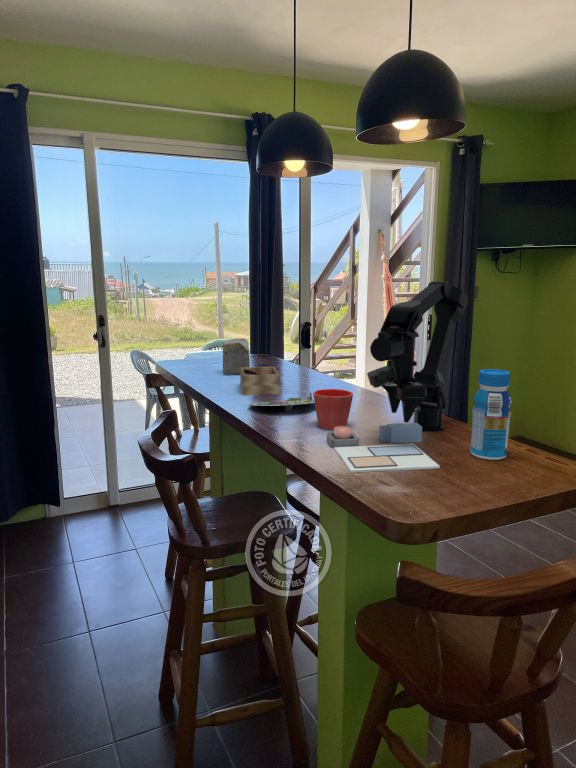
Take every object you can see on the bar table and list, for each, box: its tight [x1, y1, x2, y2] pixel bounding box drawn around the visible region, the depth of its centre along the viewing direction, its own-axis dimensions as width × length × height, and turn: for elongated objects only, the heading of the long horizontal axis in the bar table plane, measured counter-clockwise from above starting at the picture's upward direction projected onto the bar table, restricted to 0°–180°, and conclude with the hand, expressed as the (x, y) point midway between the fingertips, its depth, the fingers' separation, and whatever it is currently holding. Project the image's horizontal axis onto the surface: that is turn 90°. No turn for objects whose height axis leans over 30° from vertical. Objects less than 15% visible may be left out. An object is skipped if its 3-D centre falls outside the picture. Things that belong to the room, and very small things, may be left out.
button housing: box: [326, 431, 360, 449], centre depth 135 cm, size 7×7×2 cm
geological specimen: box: [222, 337, 251, 376], centre depth 228 cm, size 11×6×15 cm, turn 105°
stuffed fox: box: [244, 369, 262, 375], centre depth 198 cm, size 8×11×12 cm
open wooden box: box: [239, 366, 281, 396], centre depth 198 cm, size 13×17×7 cm
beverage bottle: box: [469, 368, 513, 461], centre depth 125 cm, size 8×8×20 cm
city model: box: [248, 392, 315, 413], centre depth 173 cm, size 25×23×6 cm
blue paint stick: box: [378, 422, 423, 444], centre depth 138 cm, size 10×4×4 cm, turn 97°
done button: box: [333, 425, 353, 439], centre depth 135 cm, size 4×4×3 cm
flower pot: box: [313, 388, 354, 431], centre depth 150 cm, size 11×11×10 cm
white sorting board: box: [333, 443, 441, 474], centre depth 125 cm, size 20×16×1 cm
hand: (399, 417), depth 137 cm, fingers open, 9 cm apart
